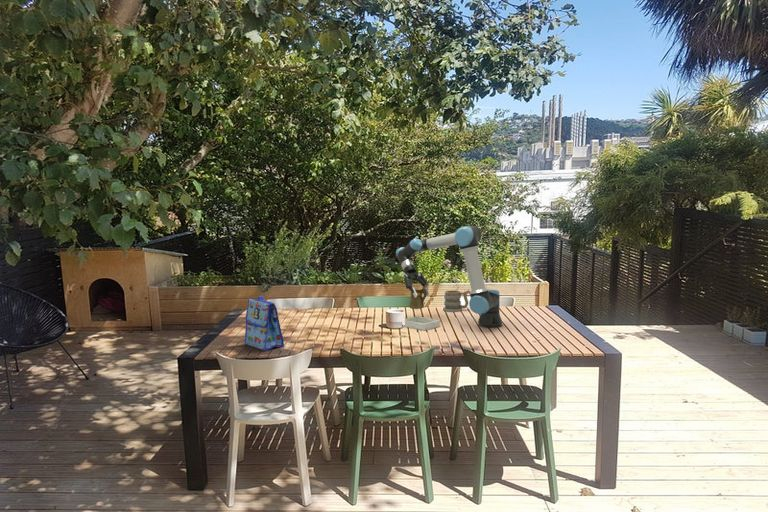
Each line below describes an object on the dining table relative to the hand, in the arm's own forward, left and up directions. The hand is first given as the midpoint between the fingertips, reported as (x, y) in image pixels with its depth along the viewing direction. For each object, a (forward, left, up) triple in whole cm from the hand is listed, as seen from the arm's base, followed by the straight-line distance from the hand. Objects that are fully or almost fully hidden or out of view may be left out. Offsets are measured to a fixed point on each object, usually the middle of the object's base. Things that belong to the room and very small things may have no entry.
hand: (422, 295), depth 340 cm
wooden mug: (+3, -2, -9) cm, 9 cm away
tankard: (+1, -57, -21) cm, 60 cm away
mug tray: (+3, -2, -20) cm, 21 cm away
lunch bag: (+60, +79, -21) cm, 102 cm away
